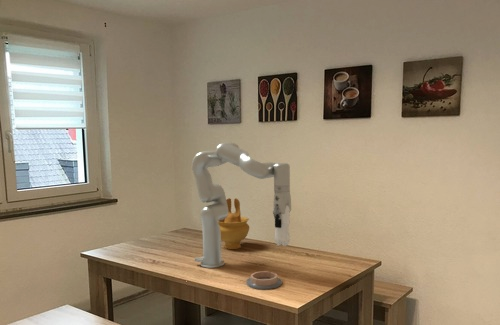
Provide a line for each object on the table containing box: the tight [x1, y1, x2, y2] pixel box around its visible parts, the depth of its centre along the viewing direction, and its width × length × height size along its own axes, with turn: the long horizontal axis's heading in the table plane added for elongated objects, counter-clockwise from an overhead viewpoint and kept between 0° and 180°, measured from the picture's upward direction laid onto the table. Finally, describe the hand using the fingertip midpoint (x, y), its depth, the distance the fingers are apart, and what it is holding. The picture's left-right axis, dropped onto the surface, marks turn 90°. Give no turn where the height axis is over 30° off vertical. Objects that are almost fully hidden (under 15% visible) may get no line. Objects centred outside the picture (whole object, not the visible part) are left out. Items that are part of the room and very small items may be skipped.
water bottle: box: [274, 206, 291, 247], centre depth 190 cm, size 7×7×25 cm
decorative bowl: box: [218, 197, 250, 250], centre depth 246 cm, size 21×21×30 cm
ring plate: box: [246, 270, 283, 291], centre depth 181 cm, size 16×16×4 cm
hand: (282, 225), depth 191 cm, fingers closed on water bottle, 7 cm apart
